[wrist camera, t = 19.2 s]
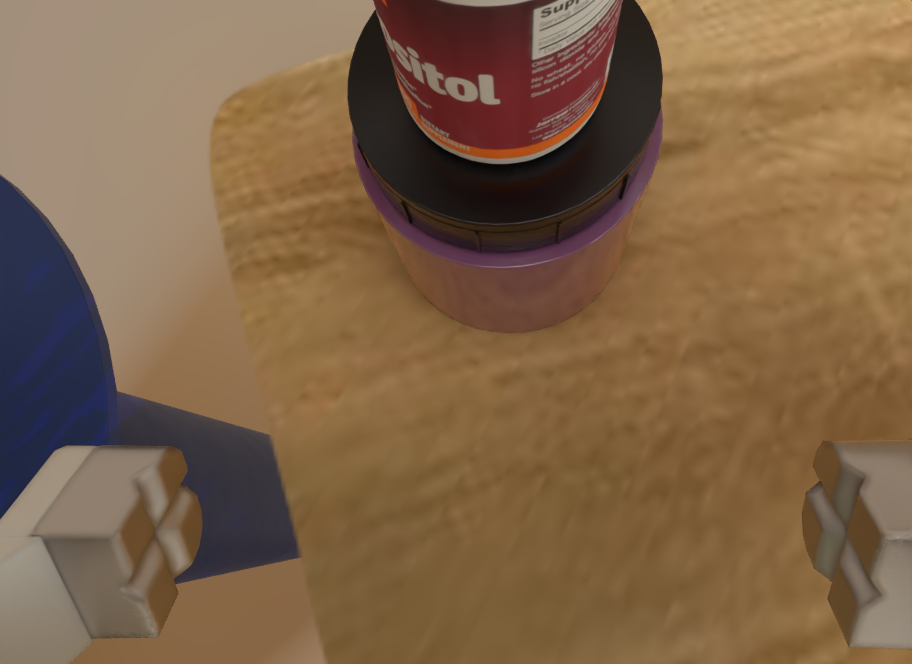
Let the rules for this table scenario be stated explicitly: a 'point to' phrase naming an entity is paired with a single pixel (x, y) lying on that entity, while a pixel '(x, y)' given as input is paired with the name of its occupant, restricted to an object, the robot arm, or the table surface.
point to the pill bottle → (500, 70)
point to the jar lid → (516, 184)
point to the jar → (515, 261)
